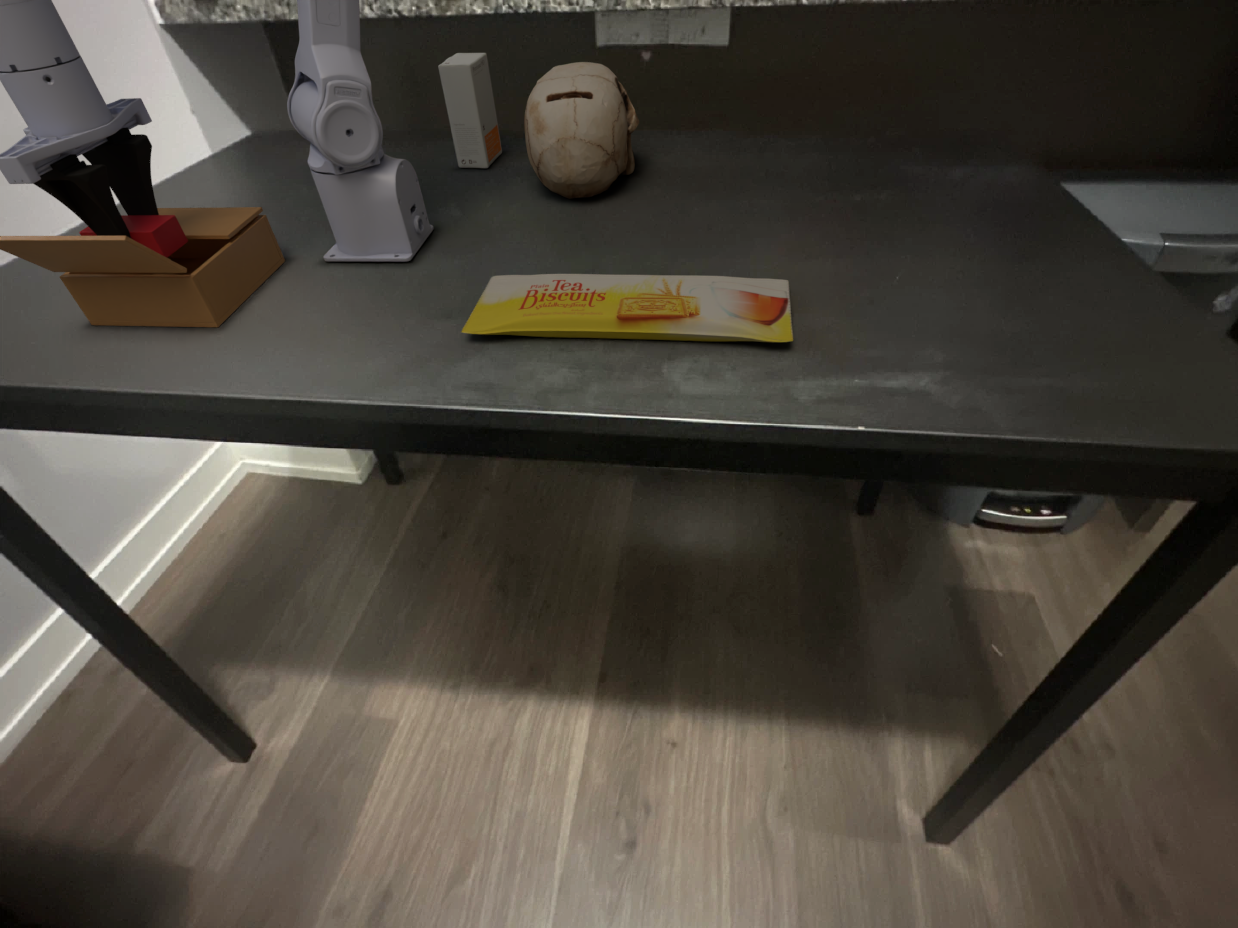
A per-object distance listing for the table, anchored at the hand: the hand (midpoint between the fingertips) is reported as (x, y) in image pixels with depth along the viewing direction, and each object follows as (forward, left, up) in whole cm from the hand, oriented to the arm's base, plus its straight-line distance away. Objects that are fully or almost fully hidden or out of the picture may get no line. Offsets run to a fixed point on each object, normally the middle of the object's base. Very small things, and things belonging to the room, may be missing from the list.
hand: (135, 235), depth 61 cm
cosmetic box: (-20, -38, -7) cm, 44 cm away
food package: (-44, +1, -7) cm, 45 cm away
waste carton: (0, -3, -7) cm, 8 cm away
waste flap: (0, +5, +1) cm, 6 cm away
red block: (0, 0, -1) cm, 1 cm away
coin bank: (-35, -32, -7) cm, 48 cm away
